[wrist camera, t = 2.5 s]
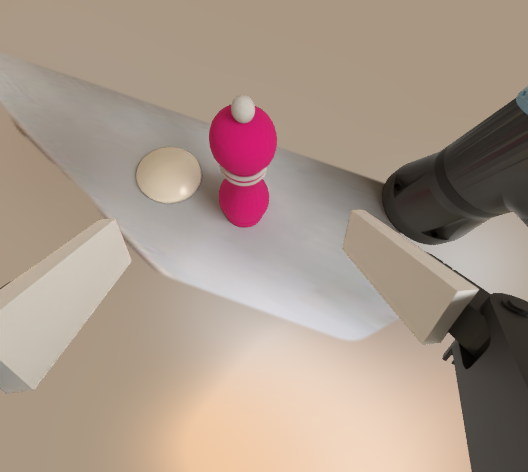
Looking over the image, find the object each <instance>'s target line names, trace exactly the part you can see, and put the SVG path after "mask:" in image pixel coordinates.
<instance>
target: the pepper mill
mask: <svg viewBox="0 0 528 472" xmlns="http://www.w3.org/2000/svg"><path fill="white" fill-rule="evenodd" d="M209 142H210V148H211V151H212V154H213V156H214V158H215V159H216V161H217V162H218V163H219V164H220V169H221V172H222V174H223V176H224V177H225V179H224V181H223V182H222V184H221V187H220V191H219V203H220V206H221V209H222V211H223V212H224V213H225V215H226V216H227V218H228V219H229V221H230V222H231V223H232V224H234V225H236V226H238V227H251V226H253V225H255V224H256V223H258V222H259V221H260V219H261V218H262V215H263V214H264V213H265V211H266V210H267V207H268V204H269V192H268V188H267V186H266V184H265V182H264V180H263V179H262V178H263V177H264V175H265V174H266V171H267V166H268V165H269V164H270V162H271V160H272V159H273V157H274V154H275V151H276V146H277V136H276V131H275V127H274V125H273V122H272V121H271V119H270V118H269V116H268V115H267V114H266V113H265V112H264V111H263V110H262V109H260V108H258V107H256V106H254V103H253V101H252V100H251V99H250V98H249V97H248V96H245V95H240V96H237V97H236V98H235V99H234V100H233V102H232V105H229V106H227V107H225V108H223V109H222V110H221V111H219V113H218V114H217V115H216V116H215V118H214V119H213V121H212V124H211V127H210V132H209Z"/></svg>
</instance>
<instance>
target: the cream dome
mask: <svg viewBox="0 0 528 472" xmlns="http://www.w3.org/2000/svg"><path fill="white" fill-rule="evenodd" d="M201 178H202V174H201V169H200V166H199V164H198V161H197V160H196V158H195V157H194V156H193V155H192V154H191V153H189V152H188V151H186V150H183V149H181V148H176V147H164V148H160V149H157V150H155V151H152V152H151V153H149V154H148V155H146V156H145V157H144V158H143V160H142V161H141V162H140V164H139V166H138V168H137V173H136V179H137V183H138V186H139V187H140V189H141V190H142V192H143V193H144V194H146V195H147V196H148V197H149V198H150V199H152V200H154V201H156V202H159V203H163V204H173V203H178V202H181V201H184V200H186V199H188V198H189V197H191V196H192V195H193V194H194V193H195V192H196V191H197V189H198V187H199V185H200V183H201Z"/></svg>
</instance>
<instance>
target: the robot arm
mask: <svg viewBox="0 0 528 472" xmlns="http://www.w3.org/2000/svg"><path fill="white" fill-rule="evenodd" d="M383 204H384V208H385V211H386V213H387V215H388V217H389V219H390V221H391V222H392V223H393V225H394V226H395V227H396V228H397V229H398V230H399V231H400V232H401V233H403V234H404V235H405V236H407V237H408V238H410V239H412V240H414V241H417V242H419V243H423V244H429V245H436V244H442V243H446V242H449V241H453V240H455V239H458V238H460V237H462V236H464V235H465V234H467V233H468V232H470V231H471V230H473V229H474V228H476V227H477V226H479V225H481V224H482V223H484V222H485V221H487V220H489V219H490V218H492V217H495V216H499V215H502V214H505V213H509V212H514V213H515V214H516V215H517V216H518V217H519V218H520V219H521V220H522V221H523V222H524V223H525V224H526V225H527V226H528V87H526V88H525V89H523V91H521V92H520V93H519V94H518V96H517V97H516V98H515V99H514V100H512V101H511V102H510V103H508V104H507V105H505V106H504V107H503V108H501V109H500V110H498V111H497V112H495V113H494V114H493V115H492V116H490V117H488V118H487V119H486V120H484V121H483V122H481V123H480V124H478V125H477V126H476V127H474V128H473V129H472V130H470V131H469V132H467V133H466V134H464V135H463V136H461V137H460V138H459V139H457V140H456V141H454V142H453V143H452V144H450V145H449V146H448V147H446V148H445V149H443V150H442V151H440V152H438V153H435V154H432V155H430V156H427V157H424V158H422V159H419V160H416V161H414V162H411V163H408V164H406V165H404V166H403V167H401V168H400V169H398V170H397V171H396V172H395V173H393V174H392V175H391V176H390V177H389V178H388V180H387V181H386V183H385V185H384V188H383ZM342 249H343V250H344V252H345V253H346V254H347V255H348V256H349V258H350V259H351V260H352V261H353V262H354V264H355V265H356V266H357V267H358V268H359V270H360V271H361V272H362V273H363V274H364V276H365V277H366V278H367V279H368V280H369V282H370V283H371V284H372V285H373V286H374V288H375V289H376V290H377V291H378V292H379V294H380V295H381V296H382V297H383V298H384V300H385V301H386V302H387V303H388V304H389V306H390V307H391V308H392V309H393V310H394V312H395V313H396V314H397V315H398V316H399V318H400V319H401V320H402V321H403V322H404V324H405V325H406V326H407V327H408V328H409V330H410V331H411V332H412V333H413V334H414V336H415V337H416V338H417V339H418V340H419V342H420V343H421V344H422V345H425V344H433V343H440V342H441V341H442V340H443V338H444V337H445V336H446V334H447V333H448V332H449V333H450V334H451V335H452V336H453V337H454V338H455V341H454V342H453V343H452V344H451V346H450V347H449V348H448V350H447V351H446V352H445V353H444V355H443V360H445V361H446V360H447V359H448V358H449V357H450V356H451V355H453V357H454V360H453V362H452V364H454V365H455V370H456V376H457V382H458V389H459V394H460V401H461V407H462V414H463V420H464V426H465V432H466V438H467V444H468V451H469V457H470V463H471V469H472V472H528V302H527V301H525V300H522V299H520V298H517V297H514V296H512V295H507V294H503V293H493V294H489V293H488V292H486V291H485V290H484V289H482V288H481V287H479V286H478V285H476V284H475V283H473V282H472V281H470V280H469V279H467V278H466V277H464V276H463V275H461V274H460V273H458V272H457V271H456V270H452V268H451V267H450V266H448V265H447V264H443V262H442V261H441V260H439V259H438V258H436V257H435V256H433V255H432V254H429V253H427V252H425V251H423V250H422V249H420V248H419V247H417V246H416V245H414V244H413V243H412V242H410V241H409V240H407V239H405V238H404V237H403V236H401V235H400V234H399V233H397V232H396V231H394V230H393V229H391V228H390V227H388V226H387V225H385V224H384V223H383V222H381V221H380V220H378V219H377V218H375V217H374V216H372V215H371V214H369V213H368V212H367V211H365V210H352V211H351V215H350V219H349V223H348V227H347V231H346V235H345V239H344V244H343V248H342ZM131 261H132V260H131V258H130V255H129V252H128V250H127V247H126V244H125V242H124V239H123V237H122V234H121V232H120V229H119V226H118V224H117V221H116V219H99V220H98V221H97V222H95V223H94V224H92V225H91V226H90V227H88V228H87V229H85V230H84V231H82V232H81V233H80V234H78V235H77V236H75V237H74V238H72V239H71V240H70V241H68V242H67V243H65V244H64V245H63V246H61V247H60V248H58V249H57V250H55V251H54V252H53V253H51V254H50V255H48V256H47V257H46V258H44V259H43V260H41V261H40V262H38V263H37V264H36V265H34V266H33V267H32V268H30V269H29V270H27V271H26V272H25V273H23V274H21V275H20V276H19V277H17V278H16V279H14V280H13V281H11V282H9V283H7V284H6V285H4V286H3V287H2V288H0V389H1V390H2V391H3V392H5V393H15V392H23V391H32V390H35V388H36V387H37V386H38V384H39V383H40V382H41V380H42V379H43V377H44V376H45V375H46V374H47V373H48V371H49V370H50V368H51V367H52V366H53V365H54V363H55V362H56V361H57V359H58V358H59V357H60V355H61V354H62V353H63V351H64V350H65V349H66V347H67V346H68V345H69V343H70V342H71V341H72V340H73V338H74V337H75V336H76V334H77V333H78V331H79V330H80V329H81V328H82V326H83V325H84V324H85V322H86V321H87V320H88V318H89V317H90V316H91V314H92V313H93V312H94V310H95V309H96V307H97V306H98V305H99V304H100V303H101V301H102V300H103V299H104V297H105V296H106V295H107V293H108V292H109V290H110V289H111V288H112V287H113V285H114V284H115V283H116V281H117V280H118V279H119V277H120V276H121V275H122V273H123V272H124V271H125V270H126V268H127V267H128V266H129V264H130V263H131Z"/></svg>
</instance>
